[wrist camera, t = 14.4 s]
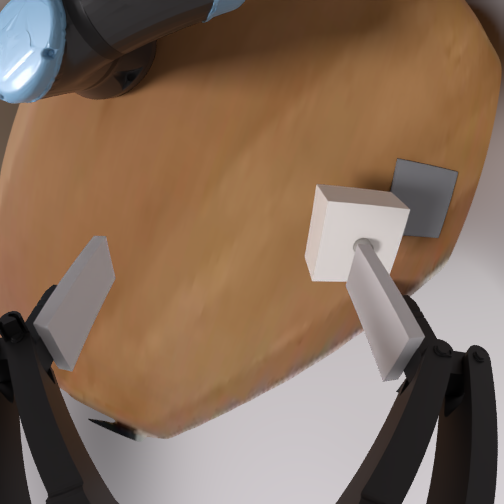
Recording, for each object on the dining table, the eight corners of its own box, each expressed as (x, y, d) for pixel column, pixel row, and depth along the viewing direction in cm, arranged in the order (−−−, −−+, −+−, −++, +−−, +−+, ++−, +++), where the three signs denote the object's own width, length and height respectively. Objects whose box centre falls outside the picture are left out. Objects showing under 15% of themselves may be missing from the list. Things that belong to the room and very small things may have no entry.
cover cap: (316, 184, 38) (330, 205, 32) (391, 192, 38) (414, 213, 32) (304, 256, 43) (314, 286, 38) (373, 259, 44) (389, 286, 38)
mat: (397, 158, 43) (398, 159, 43) (456, 171, 44) (458, 172, 44) (379, 232, 51) (380, 233, 50) (437, 236, 52) (438, 237, 51)
